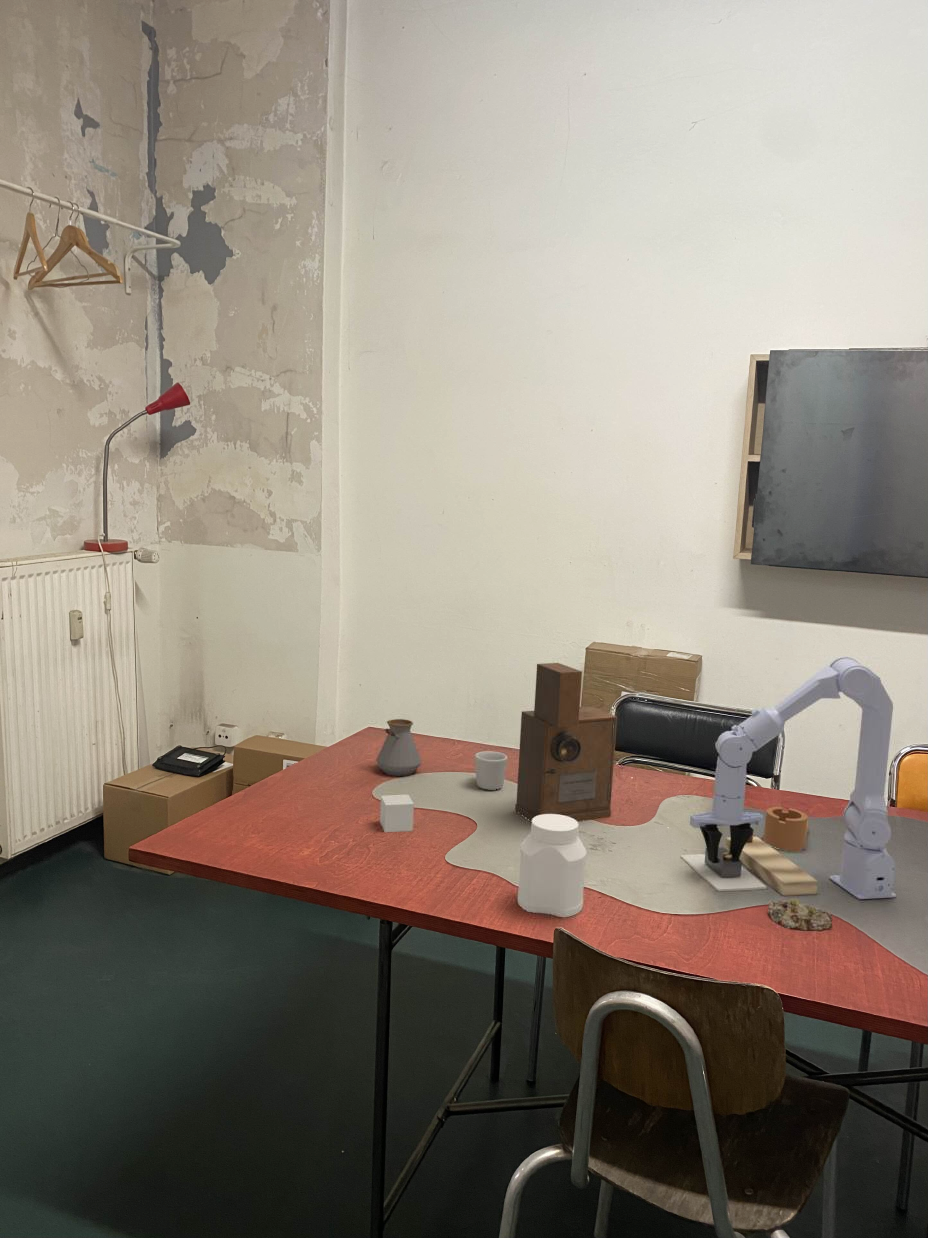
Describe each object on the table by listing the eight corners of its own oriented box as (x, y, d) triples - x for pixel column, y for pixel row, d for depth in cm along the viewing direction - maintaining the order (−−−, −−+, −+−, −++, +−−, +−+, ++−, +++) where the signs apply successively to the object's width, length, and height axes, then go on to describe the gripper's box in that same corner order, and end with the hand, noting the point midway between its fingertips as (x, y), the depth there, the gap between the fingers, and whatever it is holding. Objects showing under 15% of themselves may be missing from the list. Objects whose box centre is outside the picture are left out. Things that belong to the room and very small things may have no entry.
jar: (512, 910, 157) (517, 827, 155) (522, 887, 166) (527, 809, 164) (579, 920, 154) (585, 836, 152) (585, 896, 164) (591, 817, 162)
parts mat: (766, 889, 171) (767, 887, 170) (718, 891, 168) (718, 889, 168) (725, 855, 186) (725, 853, 186) (680, 857, 184) (680, 855, 184)
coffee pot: (382, 762, 237) (384, 706, 235) (425, 766, 236) (427, 710, 234) (360, 788, 217) (362, 727, 214) (407, 793, 215) (409, 731, 213)
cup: (463, 780, 226) (464, 749, 225) (491, 777, 230) (493, 746, 228) (482, 794, 217) (483, 761, 215) (511, 790, 220) (513, 758, 219)
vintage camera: (547, 833, 193) (557, 672, 188) (515, 811, 206) (523, 659, 201) (621, 823, 202) (632, 668, 197) (585, 802, 214) (595, 656, 209)
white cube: (412, 831, 191) (413, 804, 190) (384, 832, 190) (385, 805, 189) (407, 821, 197) (408, 794, 196) (379, 822, 195) (380, 795, 195)
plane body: (816, 893, 169) (819, 868, 169) (782, 895, 168) (785, 870, 167) (755, 847, 191) (757, 825, 190) (724, 849, 189) (726, 826, 189)
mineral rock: (766, 914, 156) (770, 884, 162) (764, 934, 157) (767, 904, 164) (833, 929, 152) (834, 899, 159) (830, 949, 154) (831, 918, 160)
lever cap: (740, 876, 174) (742, 857, 174) (721, 877, 173) (723, 858, 173) (722, 861, 181) (724, 843, 180) (704, 862, 180) (706, 844, 180)
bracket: (802, 855, 188) (806, 823, 187) (761, 847, 192) (764, 816, 191) (808, 828, 205) (812, 798, 204) (770, 821, 208) (773, 791, 207)
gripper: (752, 786, 180) (746, 851, 182) (685, 787, 177) (679, 854, 179) (771, 798, 174) (765, 865, 175) (701, 800, 170) (695, 868, 172)
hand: (723, 860), depth 177 cm, fingers closed on lever cap, 4 cm apart
